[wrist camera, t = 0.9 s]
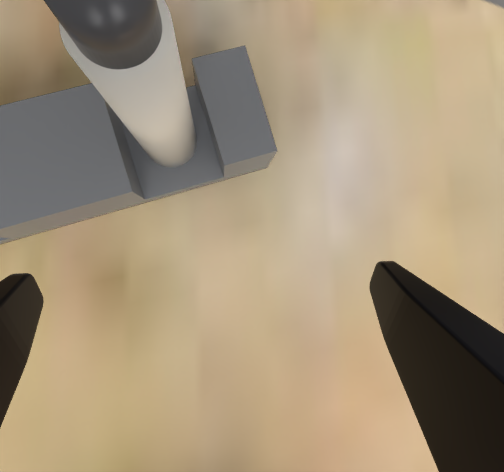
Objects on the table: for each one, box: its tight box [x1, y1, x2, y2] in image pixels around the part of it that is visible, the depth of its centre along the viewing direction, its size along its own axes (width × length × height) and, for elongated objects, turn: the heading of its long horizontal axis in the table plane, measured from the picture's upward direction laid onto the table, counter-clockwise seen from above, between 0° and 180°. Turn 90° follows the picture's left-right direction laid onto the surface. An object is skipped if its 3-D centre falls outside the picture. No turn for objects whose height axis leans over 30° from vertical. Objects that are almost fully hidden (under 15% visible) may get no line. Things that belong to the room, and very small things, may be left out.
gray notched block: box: [0, 46, 277, 244], centre depth 19 cm, size 6×24×4 cm, turn 107°
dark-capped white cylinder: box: [44, 0, 197, 167], centre depth 14 cm, size 3×3×13 cm
